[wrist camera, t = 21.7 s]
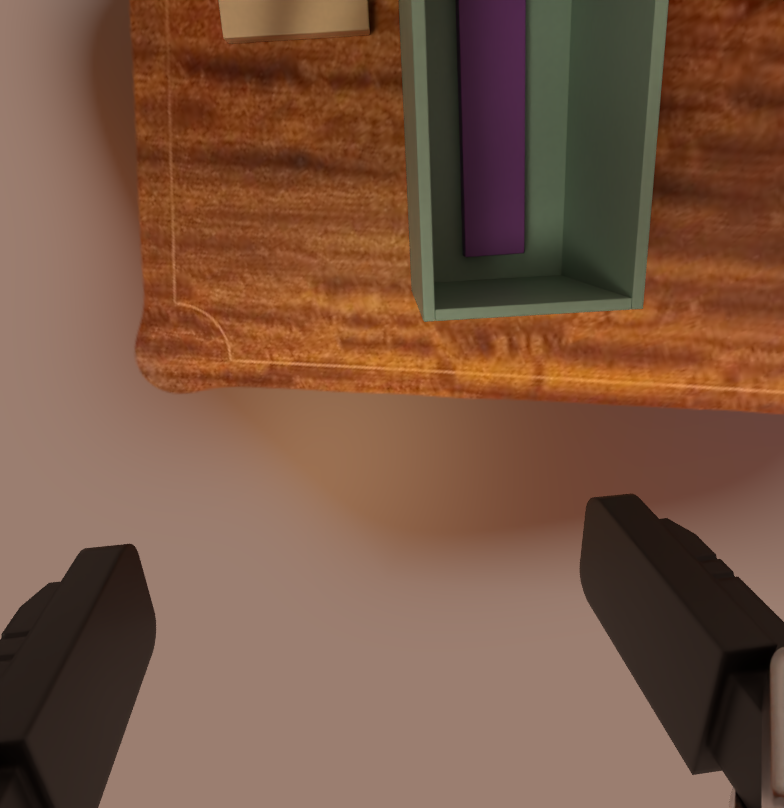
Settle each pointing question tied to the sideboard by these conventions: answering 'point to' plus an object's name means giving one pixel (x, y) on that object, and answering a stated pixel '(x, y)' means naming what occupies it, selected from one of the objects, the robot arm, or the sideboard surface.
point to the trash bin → (540, 160)
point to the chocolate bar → (492, 124)
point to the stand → (292, 19)
